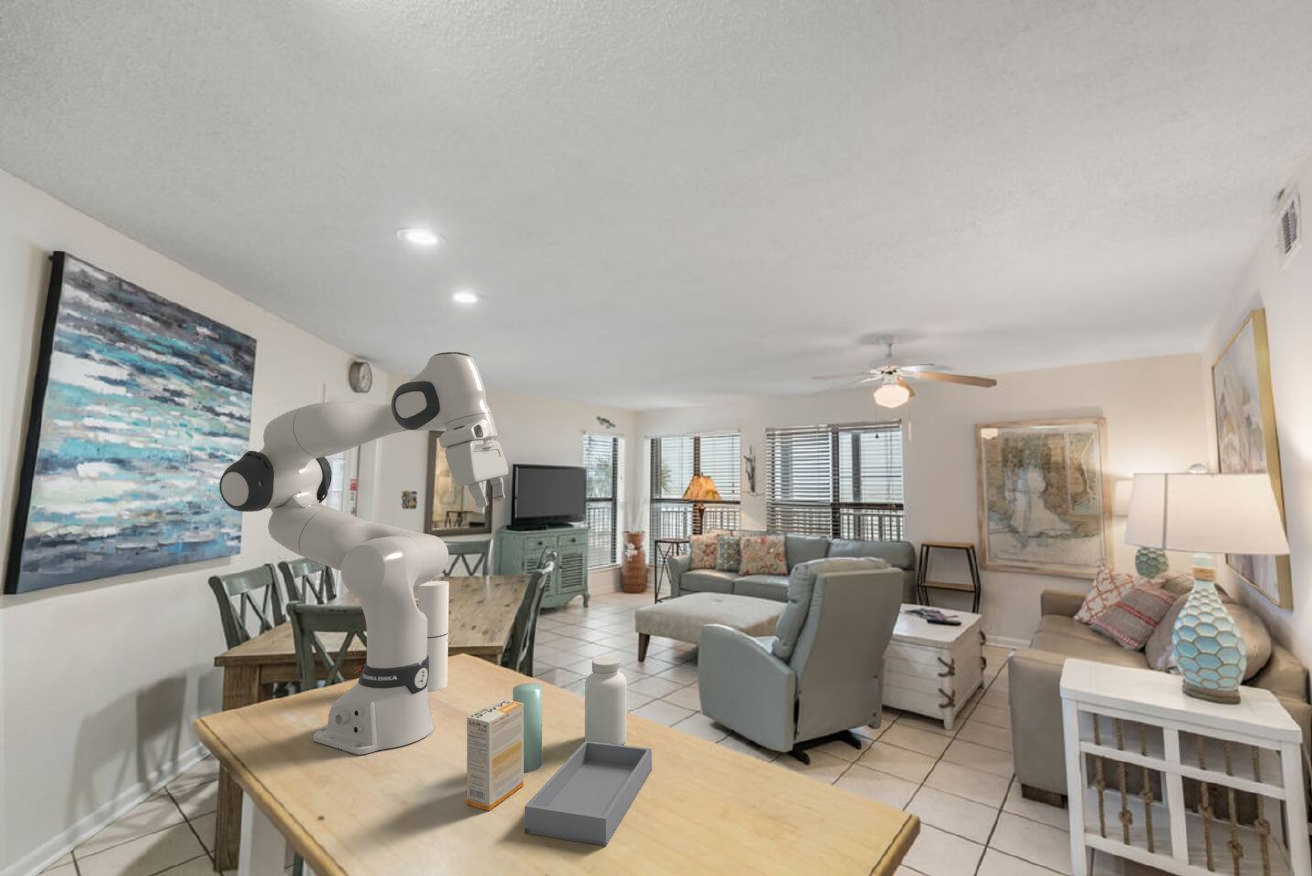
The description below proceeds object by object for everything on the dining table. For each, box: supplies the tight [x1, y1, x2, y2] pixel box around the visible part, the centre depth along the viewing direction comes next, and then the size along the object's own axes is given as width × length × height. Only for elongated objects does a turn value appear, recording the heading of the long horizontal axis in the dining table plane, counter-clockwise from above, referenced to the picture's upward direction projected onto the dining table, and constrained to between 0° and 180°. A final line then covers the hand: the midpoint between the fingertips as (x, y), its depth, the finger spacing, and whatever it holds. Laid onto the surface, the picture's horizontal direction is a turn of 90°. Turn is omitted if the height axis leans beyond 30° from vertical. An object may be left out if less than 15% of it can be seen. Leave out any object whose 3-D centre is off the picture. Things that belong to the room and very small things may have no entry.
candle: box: [512, 682, 543, 773], centre depth 99 cm, size 5×5×13 cm
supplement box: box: [466, 699, 525, 812], centre depth 89 cm, size 8×5×13 cm, turn 153°
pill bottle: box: [584, 656, 628, 745], centre depth 108 cm, size 8×8×15 cm
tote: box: [524, 740, 653, 847], centre depth 87 cm, size 12×21×4 cm, turn 164°
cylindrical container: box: [417, 580, 450, 693], centre depth 140 cm, size 7×7×25 cm
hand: (492, 503), depth 107 cm, fingers open, 8 cm apart
